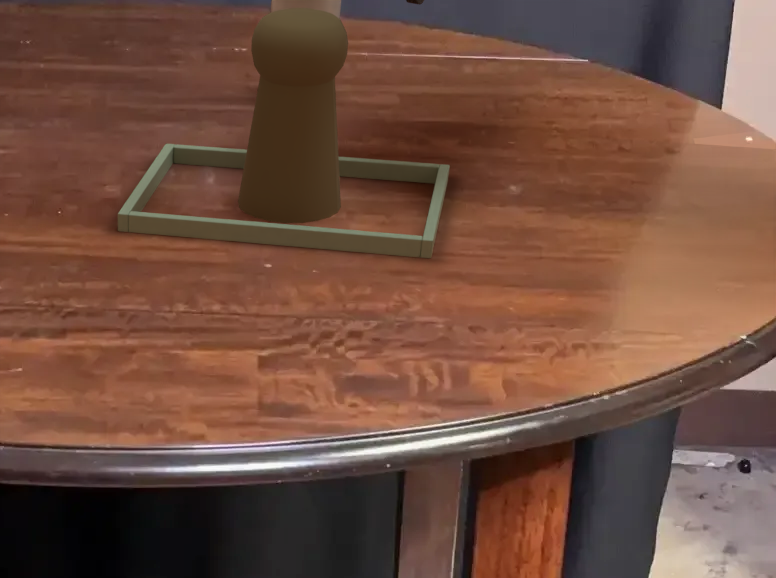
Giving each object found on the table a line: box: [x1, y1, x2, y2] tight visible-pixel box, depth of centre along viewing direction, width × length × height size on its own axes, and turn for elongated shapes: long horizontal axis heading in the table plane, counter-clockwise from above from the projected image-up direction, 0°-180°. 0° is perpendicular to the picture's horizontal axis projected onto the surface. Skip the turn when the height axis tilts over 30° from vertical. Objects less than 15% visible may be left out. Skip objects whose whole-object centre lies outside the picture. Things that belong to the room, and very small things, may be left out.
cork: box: [237, 8, 349, 224], centre depth 84 cm, size 6×6×11 cm
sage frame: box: [117, 143, 451, 259], centre depth 87 cm, size 17×12×2 cm
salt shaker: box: [269, 0, 342, 19], centre depth 104 cm, size 5×5×11 cm
